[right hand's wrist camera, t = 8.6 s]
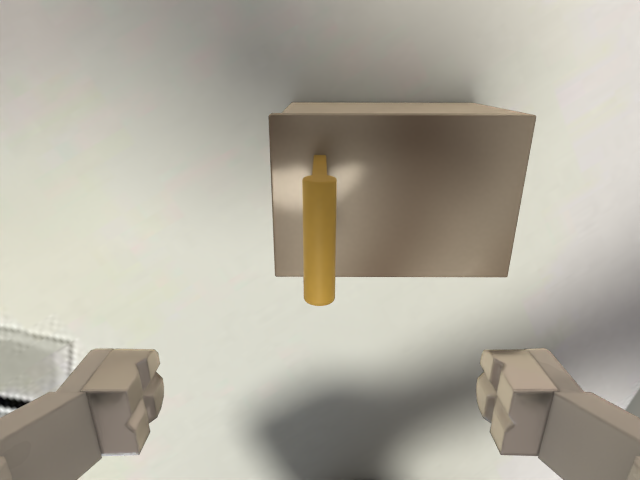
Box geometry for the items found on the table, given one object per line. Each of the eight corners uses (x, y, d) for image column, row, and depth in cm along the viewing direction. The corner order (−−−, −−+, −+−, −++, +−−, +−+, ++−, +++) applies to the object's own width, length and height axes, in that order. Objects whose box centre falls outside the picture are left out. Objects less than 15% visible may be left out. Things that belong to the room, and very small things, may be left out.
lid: (276, 269, 28) (259, 343, 20) (270, 112, 24) (247, 131, 17) (500, 269, 28) (568, 344, 20) (527, 113, 24) (622, 132, 17)
